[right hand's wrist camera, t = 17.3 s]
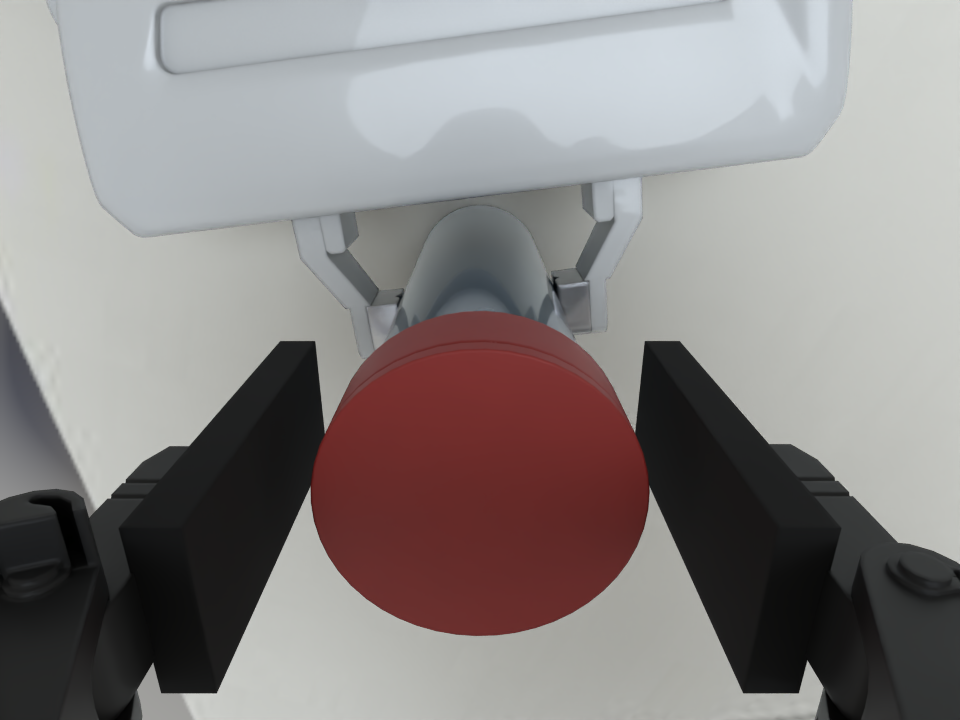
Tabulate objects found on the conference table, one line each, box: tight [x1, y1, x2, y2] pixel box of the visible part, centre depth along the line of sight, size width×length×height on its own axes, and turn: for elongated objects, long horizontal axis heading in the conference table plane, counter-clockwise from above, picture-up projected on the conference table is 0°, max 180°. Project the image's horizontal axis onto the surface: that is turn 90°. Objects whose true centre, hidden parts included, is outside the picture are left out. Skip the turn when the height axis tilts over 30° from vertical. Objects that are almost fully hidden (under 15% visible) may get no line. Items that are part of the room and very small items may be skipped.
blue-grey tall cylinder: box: [383, 205, 577, 344], centre depth 18 cm, size 5×5×16 cm
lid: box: [311, 311, 649, 636], centre depth 11 cm, size 6×6×2 cm
